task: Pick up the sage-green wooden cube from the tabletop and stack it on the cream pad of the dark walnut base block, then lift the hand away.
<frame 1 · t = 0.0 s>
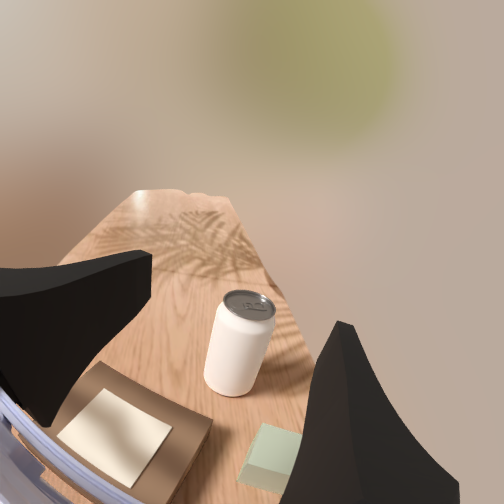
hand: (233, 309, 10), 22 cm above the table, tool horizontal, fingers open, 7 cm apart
base: (117, 448, 20), on the table
cube: (266, 470, 22), on the table
can: (228, 380, 34), on the table
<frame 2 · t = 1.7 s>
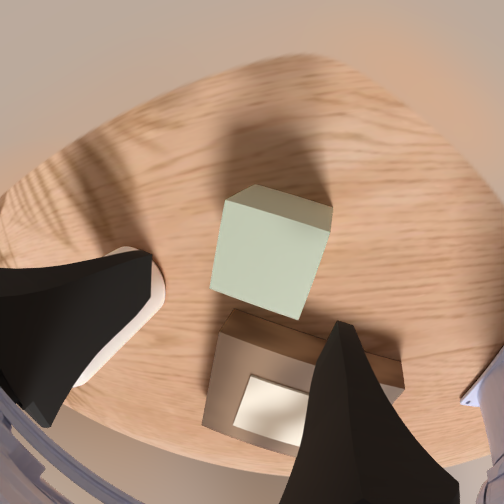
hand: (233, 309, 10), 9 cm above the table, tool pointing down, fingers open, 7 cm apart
base: (293, 392, 23), on the table
cube: (283, 231, 18), on the table
can: (139, 278, 24), on the table
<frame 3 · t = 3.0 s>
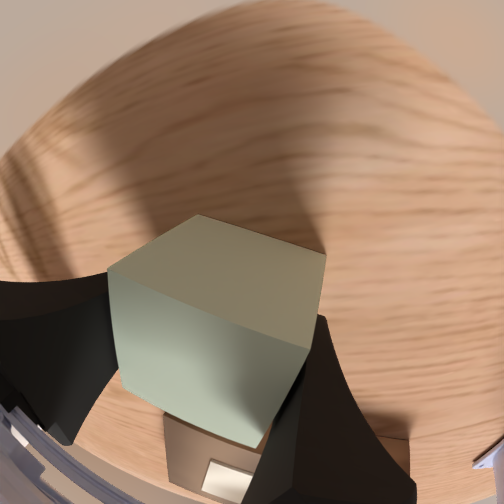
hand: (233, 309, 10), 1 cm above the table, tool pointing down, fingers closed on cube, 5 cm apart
base: (272, 462, 16), on the table
cube: (245, 290, 11), on the table, touching gripper
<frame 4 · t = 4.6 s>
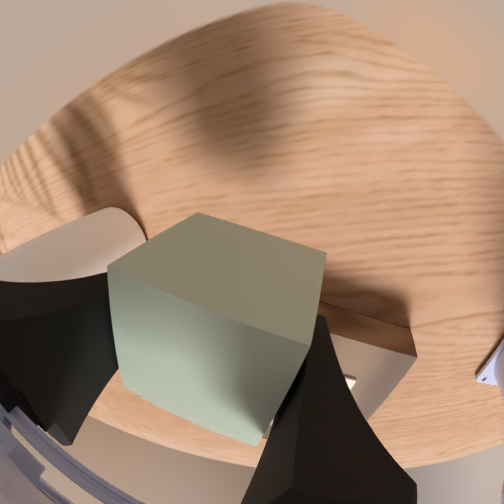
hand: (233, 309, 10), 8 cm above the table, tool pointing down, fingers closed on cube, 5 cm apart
base: (290, 369, 21), on the table
cube: (245, 288, 11), point 7 cm above the table, touching gripper
can: (122, 242, 22), on the table
when the fingers open (6 cm above the table, at t = 6.2 s): cube drops 1 cm, resting on base.
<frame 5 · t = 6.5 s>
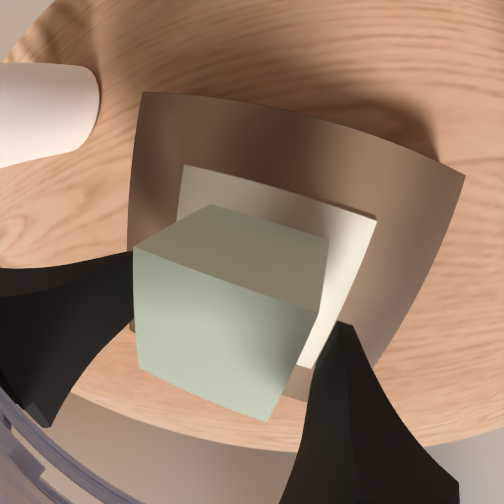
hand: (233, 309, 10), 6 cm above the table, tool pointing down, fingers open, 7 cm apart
base: (270, 251, 15), on the table
cube: (254, 275, 12), point 3 cm above the table, touching base
can: (76, 108, 16), on the table
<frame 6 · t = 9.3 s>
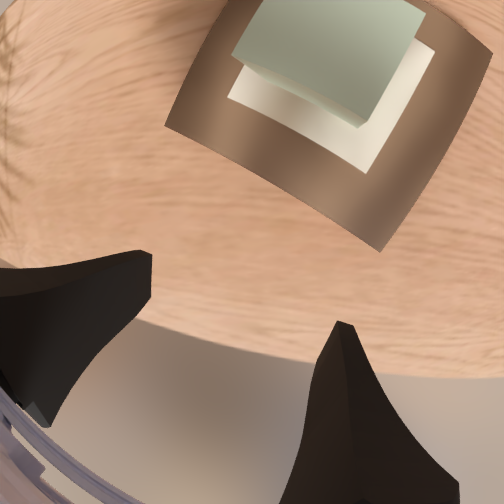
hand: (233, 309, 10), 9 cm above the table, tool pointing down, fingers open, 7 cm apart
base: (334, 78, 14), on the table
cube: (334, 62, 11), point 3 cm above the table, touching base
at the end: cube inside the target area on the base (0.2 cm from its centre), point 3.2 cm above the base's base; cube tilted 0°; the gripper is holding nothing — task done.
